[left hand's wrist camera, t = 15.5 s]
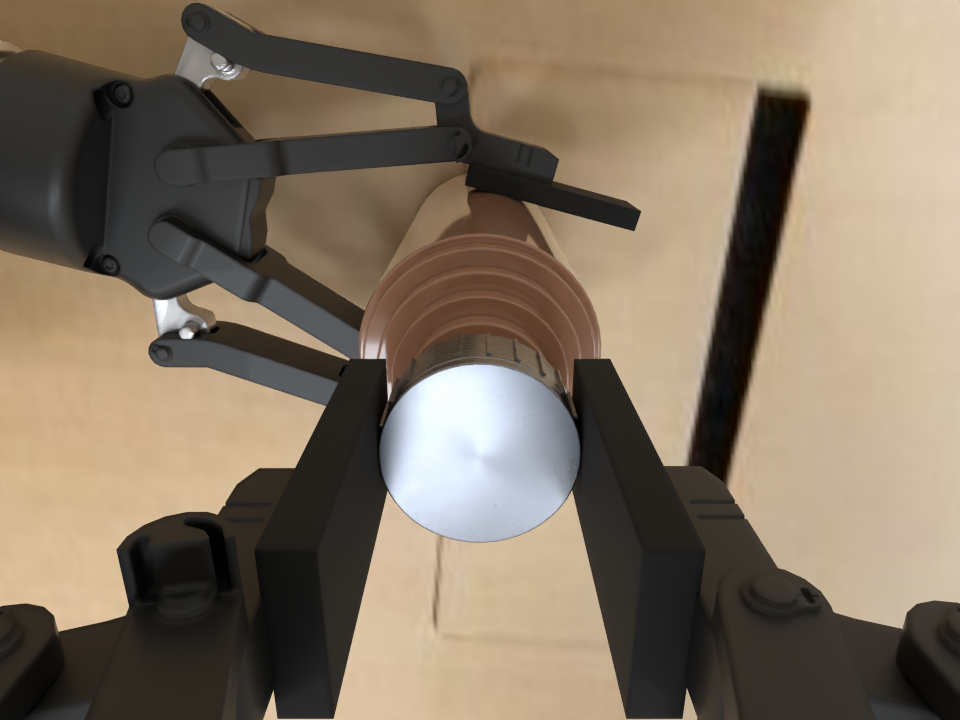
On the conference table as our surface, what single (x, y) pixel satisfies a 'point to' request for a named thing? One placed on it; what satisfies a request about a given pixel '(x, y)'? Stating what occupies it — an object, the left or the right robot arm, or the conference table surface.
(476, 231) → the bottle
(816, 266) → the conference table surface
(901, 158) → the conference table surface
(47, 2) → the conference table surface
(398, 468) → the cap
